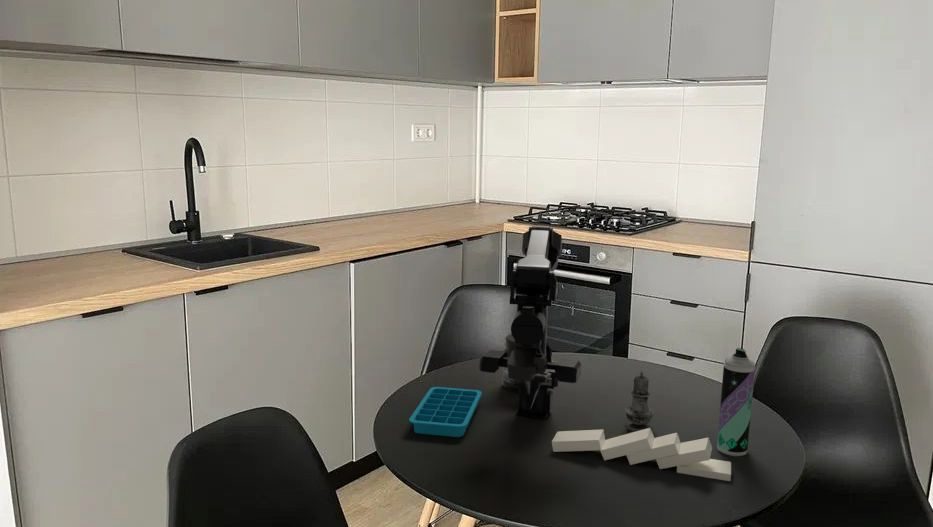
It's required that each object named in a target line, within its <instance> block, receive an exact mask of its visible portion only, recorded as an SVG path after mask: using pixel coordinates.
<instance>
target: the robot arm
mask: <svg viewBox="0 0 933 527" xmlns="http://www.w3.org/2000/svg"><path fill="white" fill-rule="evenodd" d="M562 237H563V236H562V235H561V233H558V232H556V231H554V227H551V226H549V225H532V226H529V227H528V231H527V230H526V232H524V233H522V242H521V243H522V244H521V252H522V255H523V256H524V257H523V258H520V259H518V260H517V264H516V267H515V268H516V269H512V273H511V283H510V295H509V305H516V313H515V315H514V318H513V320H512V323H511V325H510V334H512V336H513V338H514V339H515V341H514V347H513V350H512V352H511V354H510V357H509V358H507V353H506V352H504V351H503V350H495V349H494V350H493V349H489V350H488V351H487V352H485V354H483V355H482V356H481V357H480V358H479V368H478V369H479V370H478V371H480V372H484V373H491V374H492V373H493V374H495V373H496V372H498V370H499V369H500V368H503V367H506V368H508V377H509V379H513V380H514V386H518V387H519V393H518V403H517V405H518V406H517V410H516V411H515V415H516V416H517V415H518V416H524V417H531V418H537V419H546V418H547V417H548V415H549V414H550V413H551V412H552V411H553V400H554V392H553V391H552V390H554V389H555V388H556V387H558V385H559V382H562V383H567V384H569V383H570V384H577V382H578V380H579V379H580V377H581V375H582V368H583V367H582V363H581V361H579V359H570V358H563V357H561V358H560V359H559V361H558V362H557V363H556V361H555V360H553V352H552V349H551V347H550V346H549V343H548V340H547V339H548V330H547V329H548V316H549V315H548V314H549V307H552V305H553V301H554V302H555V301H556V296H557V283H558V282H557V280H558V277H557V276H556V273H555V270H556V269H557V268H558V264H559V257H562V248H563V246H562V245H563V238H562Z"/></svg>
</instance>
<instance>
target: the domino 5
mask: <svg viewBox="0 0 933 527" xmlns="http://www.w3.org/2000/svg"><path fill="white" fill-rule="evenodd" d="M676 473H677V474H684V475H688V476H689V475H690V476H696V477H701V478H702V477H703V478H707V479H708V478H709V479H715V480H721V481H725V482H727V481H728V482H731V479H732V478H731V477H732V462H731V461H728V460H719V459H715V458H710V460H707V461H702V462H696V463H691V464H686V465H680V466H676Z"/></svg>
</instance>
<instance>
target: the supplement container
mask: <svg viewBox="0 0 933 527" xmlns="http://www.w3.org/2000/svg"><path fill="white" fill-rule="evenodd" d="M514 341H515V339H514V338H513V336H512V334H511V333H509V334H508V335H506V336H505V338H504V346H505V347H504V348H503V350H502V351H504V352H506V353H507V358H509V357H510V354H511V352H512V350H513V347H514ZM501 380H502V382H501V383H502V385H503V387H504V388H505V389H506V390H508V391H511V392H512V393H518V394H519V387H518V386H514V380H513V379H509V377H508V368H506V367H502V379H501Z"/></svg>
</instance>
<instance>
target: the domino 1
mask: <svg viewBox="0 0 933 527" xmlns="http://www.w3.org/2000/svg"><path fill="white" fill-rule="evenodd" d="M605 440H606V436H605V431H604V429H603V428H602V429H588V430H587V429H586V430H584V429H583V430H563V431H556V434H555V435H554V436H553V439H552V440H551V445H552V451H553V452H554V453H555V452H558V453H559V452H561V453H562V452H585V451H600V450H601V448H602V446H603V444H604V441H605Z"/></svg>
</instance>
